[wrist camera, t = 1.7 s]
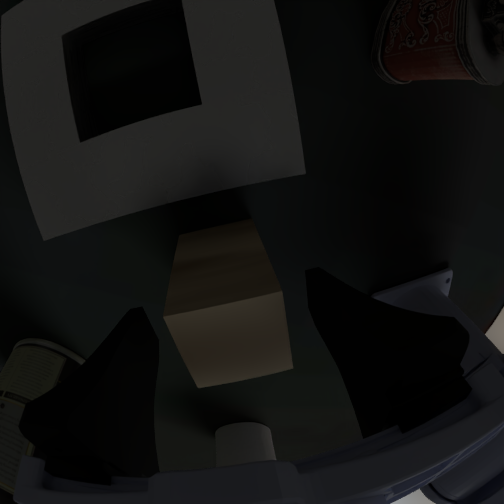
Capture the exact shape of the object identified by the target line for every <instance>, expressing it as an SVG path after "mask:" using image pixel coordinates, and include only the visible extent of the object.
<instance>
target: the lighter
mask: <svg viewBox="0 0 504 504" xmlns="http://www.w3.org/2000/svg"><path fill="white" fill-rule="evenodd" d="M371 63H372V66H373V69H374V70H375V72H376V73H377V75H378V76H379V77H381V78H382V79H383V80H384V81H386V82H388V83H390V84H406V83H410V82H411V81H412V80H430V79H468V80H475V81H476V82H478V83H481V84H484V85H501V83H502V82H503V81H504V0H390V1H389V3H388V4H387V6H386V8H385V10H384V11H383V13H382V15H381V18H380V21H379V24H378V27H377V30H376V33H375V37H374V42H373V47H372V52H371Z"/></svg>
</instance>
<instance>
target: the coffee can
mask: <svg viewBox="0 0 504 504" xmlns="http://www.w3.org/2000/svg"><path fill="white" fill-rule="evenodd" d="M85 361H86V360H85V359H83V358H82V357H81V356H79V355H77V354H76V353H74V352H73V351H71V350H69V349H67V348H66V347H64V346H61V345H59V344H57V343H54V342H51V341H48V340H44V339H39V338H26V339H23V340H20V341H19V342H18V343H16V345H15V346H14V348H13V351H12V353H11V355H10V357H9V359H8V360H7V362H6V364H5V366H4V368H3V369H2V371H1V373H0V504H19V503H17V502H15V501H14V500H13V495H14V490H15V485H16V480H17V476H18V471H19V467H20V463H21V459H22V455H28V456H32V457H36V458H40V459H42V460H44V461H46V459H47V455H46V454H44V453H43V452H42V451H41V450H39V449H38V448H37V447H36V446H34V445H33V444H32V443H31V442H29V441H28V440H27V439H26V438H25V437H24V436H23V435H22V433H21V432H20V430H19V427H18V426H19V422H20V419H21V417H22V414H23V411H24V408H25V405H26V403H28V402H30V401H32V400H34V399H36V398H38V397H39V396H41V395H43V394H45V393H46V392H48V391H49V390H51V389H52V388H54V387H55V386H57V385H58V384H59V383H61V382H62V381H63V380H65V379H66V378H67V377H68V376H69V375H71V374H72V373H73V372H74V371H75V370H77V369H78V368H79V367H80V366H81V365H82V364H83V363H84V362H85Z"/></svg>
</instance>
